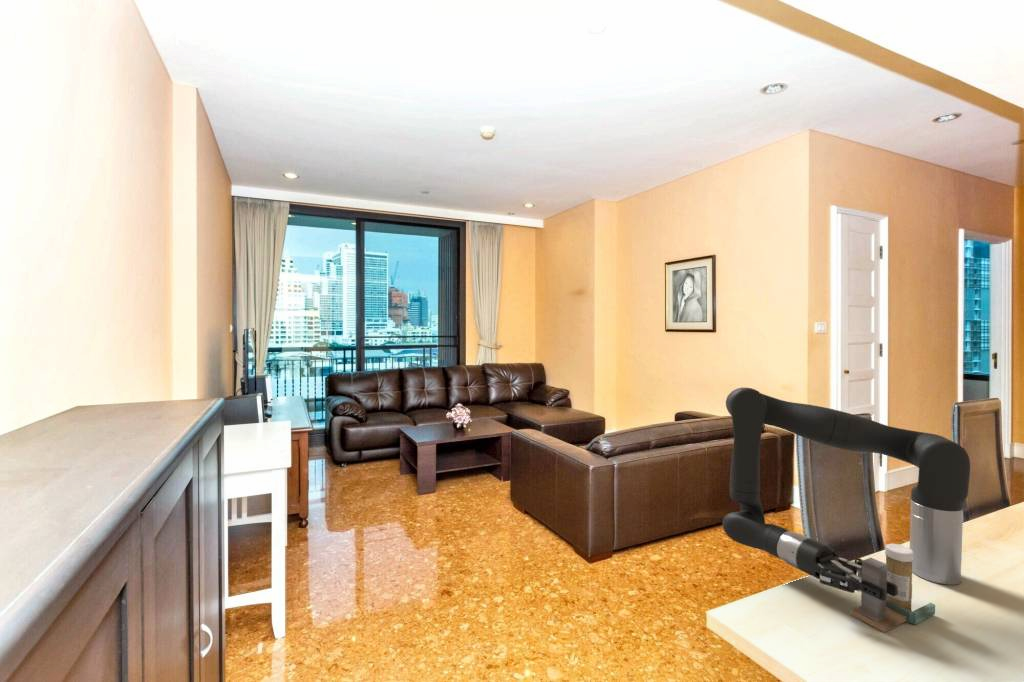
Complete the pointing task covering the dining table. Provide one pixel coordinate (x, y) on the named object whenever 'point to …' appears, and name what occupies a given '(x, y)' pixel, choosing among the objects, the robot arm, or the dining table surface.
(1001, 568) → the dining table surface
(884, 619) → the stand
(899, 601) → the sprinkles bottle
